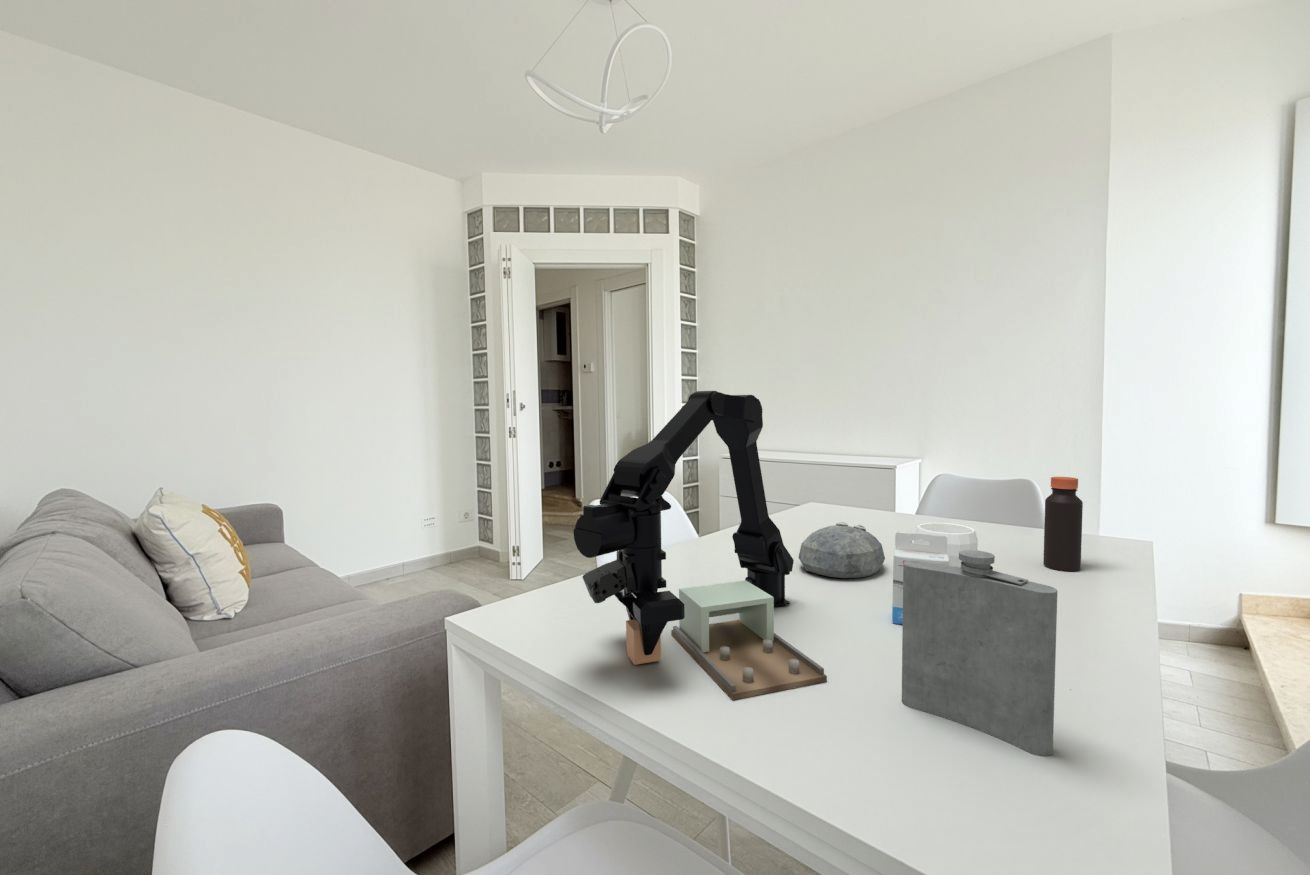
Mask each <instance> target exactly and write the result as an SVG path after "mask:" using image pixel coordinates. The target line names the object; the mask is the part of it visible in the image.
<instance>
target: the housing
mask: <svg viewBox="0 0 1310 875" xmlns="http://www.w3.org/2000/svg"><path fill="white" fill-rule="evenodd" d="M678 599H679V600H681V601H682V602H683V603H684V607H685V618H683V619H682V620H678V622H679V623H678V628H679V629H680V630H681V631H682V632H683V633H684V634H685V635H686V636H687V637H688V638H689V639H690V640H691V641H692V642H693V643H694V644H695V645H696V646H697V647H698V648H699V649H700V650H701V651H702V652H703V653H704V652H709V624H710V618H713V617H721V616H729V615H736V614H739V620H740V622H741V623H743V624H744V625H745V626H747V627H748V628H749V629H751V630H752V631H753V632H754V633H756V634H757V635H758V636H760V637H761V638H762V639H764V640H765V639H769V640H772V641H774V633H775V631H774V630H775V626H774V625H775V620H774V619H775V614H774V613H775V611H774V610H775V607H774V597H772V596H771V595H769V594H767V593H766V592H764V591H763V590H761V589H759V588H758V587H756V586H754V585H753V584H751V583H749V582H748V581H746V580H738V581H729V582H722V583H721V582H720V583H714V584H705V585H698V586H691V587H690V586H689V587H681V588H679V589H678Z"/></svg>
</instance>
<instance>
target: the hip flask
mask: <svg viewBox="0 0 1310 875" xmlns="http://www.w3.org/2000/svg"><path fill="white" fill-rule="evenodd" d="M995 558H996V557H995V554H993V553H992V552H991V553H990V552H987V551H983V550H978V549H977V550H962V551H959V560H961V561H962V562H961V568H960V567H954V566H948V565H942V564H935V563H929V562H921V561H906V562H904V563H903V625H902V636H901V637H902V638H901V639H902V642H901V643H902V644H901V645H902V646H901V649H902V650H901V652H902V653H901V654H902V655H901V702H902V704H903V705H905V706H907V707H908V708H910V709H914V710H918V711H921V712H924V713H928V714H932V715H935V716H937V717H941V718H943V719H947V720H948V721H949V720H950V721H952V722H955V723H958V724H960V725H964V726H966V727H969V728H971V729H974V730H977V731H979V732H982V733H984V734H987V735H990V736H991V737H992V736H993V737H994V738H996V739H999V740H1001V741H1003V742H1006V743H1008V744H1011V745H1013V746H1015V747H1016V748H1019V749H1021V750H1023V751H1025V752H1028V753H1030V754H1031V755H1035V756H1040V757H1045V756H1046V757H1047V756H1051V755H1052V754H1053V752H1054V725H1055V724H1054V721H1055V689H1056V688H1055V685H1056V683H1055V682H1056V655H1057V654H1056V653H1057V622H1058V620H1057V618H1058V615H1057V614H1058V589H1057V588H1055V587H1053V586H1050V585H1047V584H1044V583H1043V584H1042V583H1039V582H1035V581H1030V580H1028V579H1027V578H1023V577H1018V576H1015V575H1011V574H1008V573H1003V572H999V571H997V570H994V566H992V565H993V564H995V562H996V561H995Z"/></svg>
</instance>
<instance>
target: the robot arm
mask: <svg viewBox="0 0 1310 875" xmlns="http://www.w3.org/2000/svg"><path fill="white" fill-rule="evenodd" d="M762 406H763V405H762V403H761V401H760V399H759V398H757V397H756V396H755V395H754V394H726V393H723V392H720V391H717V390H697V391H694V392H692V393H691V394H690V395H689V396H688V400H687V402H686V403H685V404H683V406H682V407H681V408H680V409H679V410H678V411H677V412H676V413H675V415H674V416H673V417H672V418H671V419H670V420H669V421H668V422H667V423H666V424H665V425H664V427H662V429H661V430H660V431H659V432H658V433H657V434H656V435H655V436H654V437H653V439H651V440H650V441H649V442H647V443H646V444H644V445H640V446H639V447H636V448H634V449H632V450H631V451H630V452H628V453H627V454H625V455H624V456H623V457H621V458H620V459H619V460H618V461H617V462H616V464H615V466H614V468H613V474H612V475H611V478H610V479H609V481H608V484H607V486H606V487H605V490H604V491H603V493H602V495H601V497H600V500H599V502H598V503H599V504H595V505H594V504H587V505H584V506H583V508H582V513H583V515H581V516H580V517H578V519H577V521H576V523H575V526H574V528H573V540H574V543H575V546H576V548H577V550H578V551H579V553H580V554H581V555H582V556H583V557H585V558H590V559H591V558H595V557H599V556H604V555H609V554H611V553H615V552H616V559H614V560H612V561H610V562H606V563H604V564H602V565H600V566H598V567H596V568H593V569H592V570H590V571H587V572H585V573H584V574H583V575H582V577H581V578H582V580H583V582H584V585H585V588H586V590H587V593H588V596H589V597H590V598H591V599H592V600H593V603H595V604H600V603H603V602H606V600H607V599H608V598H611V597H612V596H615V598H616V599H617V601H619V602H620V603H621V604H622V605H623V606H624V607H625V609H626V612H627V617H628V620H634V619H635V620H636V621H638V623H639V629H640V635H641V641H642V646H643V651H644V654H645V655H651V654H652V653H653V651H654V648H655V646H656V644H657V642H658V640H659V638H660V636H661V637H662V633H663V632H664V629H665V627H666V626H667V623H668V622H675V621H679V620H682V619H683V618H685V607H684V603H683V602H682V601H681V600H679V597H677V595H675V594H674V593H673V592H671V590H664V591H659V590H658V589H667V580H666V579H665V578H664V577H663V573H662V571H663V570H662V567H663V566H662V564H663V563H662V561H663V560H667V552H666V551H664V549H662V511H663V512H664V511H667V510H671V508H672V504H670V502H669V501H667V500H666V499H665V498H664V497H663V495H664V494H665V493H666V491H667V489H668V487H669V486H670V484H671V482H672V481H673V479H674V477H675V475H676V464H677V463H678V461H679V459H680V458H681V457H682V456H683V455H684V454H685V452H686V451H687V450H688V449H689V447H690V446H691V445H692V443H694V442H695V441H696V440H697V438H698V437H699V436H700V435H701V433H702V432H703V431H704V430H705V428H707V426H708V425H709V424H710V423H711V421H712V422H713V425H714V428H715V431H716V434H717V435H718V437H720V439H721V440H722V442H723V443H724V444H725V445H726V447H727V449H728V453H729V458H730V459H729V460H730V464H731V470H732V471H731V472H732V477H733V481H734V488H735V494H736V498H737V504H738V509H739V514H740V515H739V516H740V523H739V526H738V528H737V530H736V531H735V532H734V533H733V534H732V538H731V539H732V541H733V544H734V553H735V554H736V555H737V558H738V561H739V562H738V563H739V566H740V568H741V569H746V570H747V571H746V572H747V576H746V577H745V578H744V579H745V580H746V581H748V582H749V583H751V584H753V585H754V586H756V587H758V588H759V589H761V590H763V591H764V592H766V593H767V594H769V595H771V596H772V597H774V608H775V607H776V608H777V607H783V606H788V605H790V603H791V602H790V601H789V600H787V599H786V587H785V586H786V576H788V575H790V572H792V571H793V567H794V561H795V559H794V558H793V557H792V555H791V553H790V552H789V550H788V549H787V548H786V546H785V545H784V542H783V538H782V533H781V531H780V529H779V528H778V527H777V525H776V524H775V522H774V521H773V520H772V519H771V518H770V516H769V511H768V505H767V499H766V493H765V486H764V481H763V475H762V474H763V473H762V467H761V463H760V462H761V461H760V457H759V450H758V444H757V441H758V439H759V436H760V434H761V431H762V430H763V427H764V426H763V425H764V424H763V419H764V418H763V407H762Z"/></svg>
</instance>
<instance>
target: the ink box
mask: <svg viewBox="0 0 1310 875" xmlns="http://www.w3.org/2000/svg"><path fill="white" fill-rule="evenodd" d="M894 535H895V536H894V537H895V538H894V540H895V542H894V543H895V544H894V545H895V547H894V548H895V549H894V550H893V563H892V564H893V565H892V566H893V567H892V568H893V570H892V606H891V608H892V611H891V612H892V613H891V615H892V617H891V618H892V620H891V621H892V622H891V623H892V624H896V625H902V626H903V563H904V562H906V561H921V562H929V563H935V564H942V565H948V566H949V557H948V554H947V537H946V536H941V535H930V534H918V533H915V532H903V531H902V532H900V531H898V532H896V533H895V534H894ZM919 539H923V540H924V541H929V542H930V544H929V545H926V544H915V543H914V542H913V541H914V540H919Z"/></svg>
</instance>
